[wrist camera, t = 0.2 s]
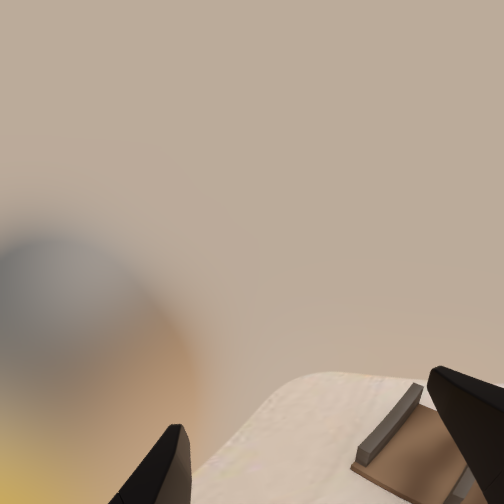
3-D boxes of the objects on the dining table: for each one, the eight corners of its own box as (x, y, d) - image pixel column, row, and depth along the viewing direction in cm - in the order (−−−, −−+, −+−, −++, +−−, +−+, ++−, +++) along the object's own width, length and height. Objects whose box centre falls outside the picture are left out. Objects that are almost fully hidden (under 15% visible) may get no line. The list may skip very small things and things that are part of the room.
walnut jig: (519, 447, 13) (534, 426, 12) (479, 531, 8) (499, 517, 7) (407, 404, 24) (413, 382, 23) (350, 469, 19) (353, 450, 18)
